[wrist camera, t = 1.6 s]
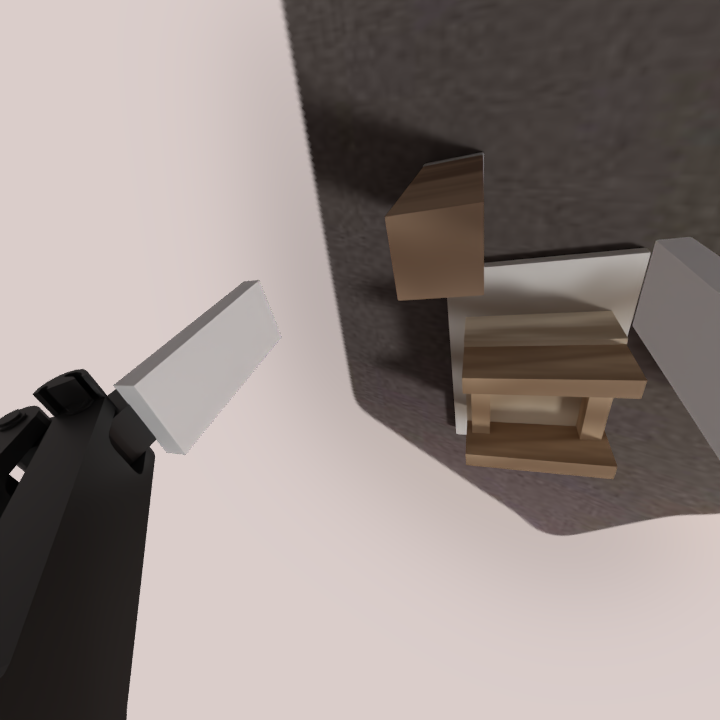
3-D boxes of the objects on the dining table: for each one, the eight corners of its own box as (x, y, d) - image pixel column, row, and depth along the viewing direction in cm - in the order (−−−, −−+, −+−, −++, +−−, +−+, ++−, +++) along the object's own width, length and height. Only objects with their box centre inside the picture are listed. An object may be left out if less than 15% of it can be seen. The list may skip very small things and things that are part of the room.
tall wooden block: (424, 163, 25) (383, 215, 15) (483, 151, 24) (485, 200, 13) (429, 220, 28) (397, 301, 17) (483, 213, 26) (485, 296, 16)
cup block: (446, 266, 29) (435, 319, 23) (645, 247, 25) (707, 307, 18) (456, 427, 41) (451, 495, 34) (595, 435, 36) (621, 516, 29)
